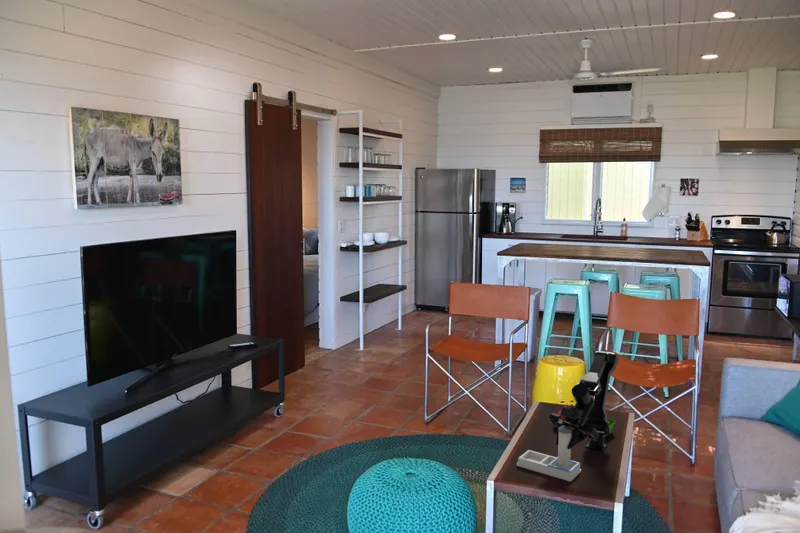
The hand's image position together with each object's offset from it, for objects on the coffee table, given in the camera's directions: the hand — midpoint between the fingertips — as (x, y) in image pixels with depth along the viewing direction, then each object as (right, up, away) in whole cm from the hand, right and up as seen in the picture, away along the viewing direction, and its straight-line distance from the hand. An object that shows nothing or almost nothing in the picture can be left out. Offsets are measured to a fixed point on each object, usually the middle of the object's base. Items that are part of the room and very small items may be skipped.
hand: (562, 446), depth 229 cm
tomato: (+13, -5, +46) cm, 48 cm away
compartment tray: (-4, -10, +6) cm, 12 cm away
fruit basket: (+26, -6, +38) cm, 47 cm away
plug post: (+1, -6, +2) cm, 7 cm away
